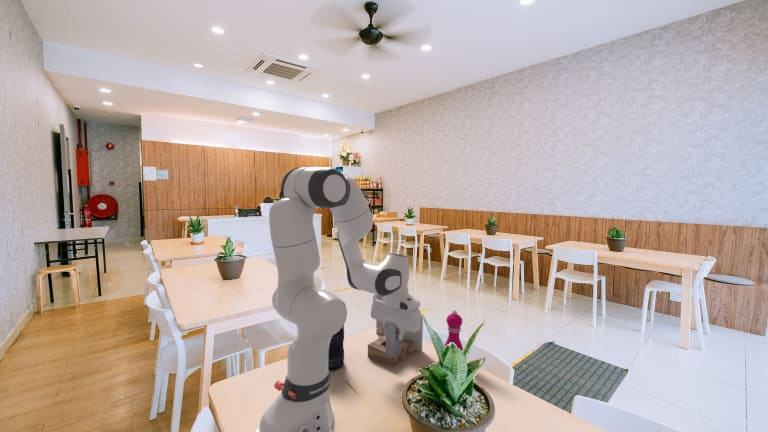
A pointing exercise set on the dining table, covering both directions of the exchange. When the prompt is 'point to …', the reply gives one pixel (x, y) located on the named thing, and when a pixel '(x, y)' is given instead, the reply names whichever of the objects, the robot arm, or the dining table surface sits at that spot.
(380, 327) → the tea bag
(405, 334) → the pale green stepped block
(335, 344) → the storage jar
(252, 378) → the dining table surface
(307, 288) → the robot arm
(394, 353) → the peg
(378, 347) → the socket
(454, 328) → the pepper mill
